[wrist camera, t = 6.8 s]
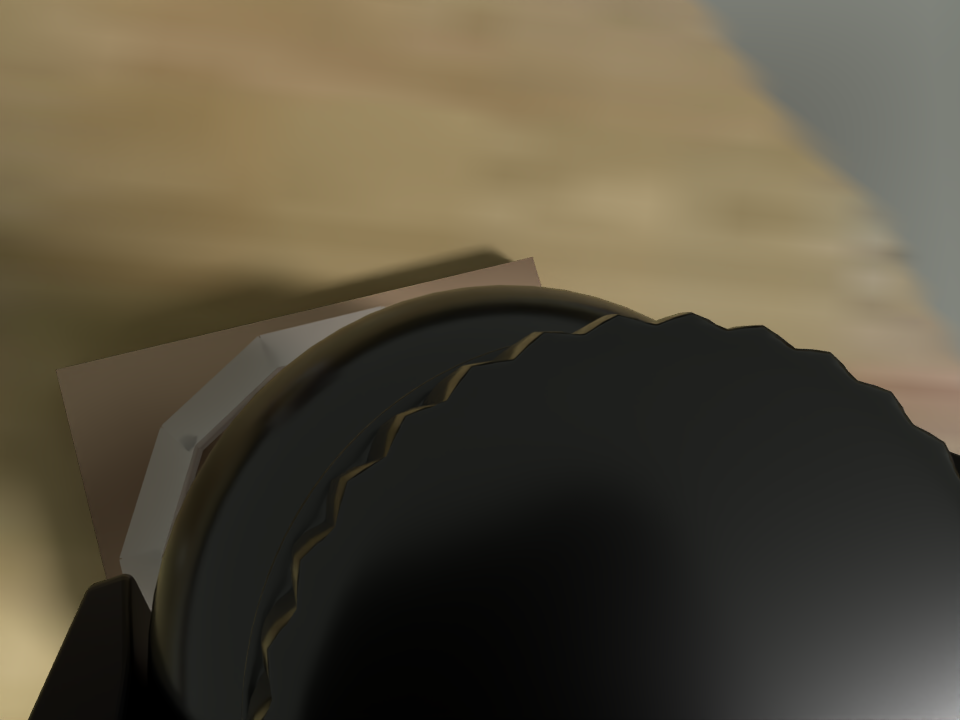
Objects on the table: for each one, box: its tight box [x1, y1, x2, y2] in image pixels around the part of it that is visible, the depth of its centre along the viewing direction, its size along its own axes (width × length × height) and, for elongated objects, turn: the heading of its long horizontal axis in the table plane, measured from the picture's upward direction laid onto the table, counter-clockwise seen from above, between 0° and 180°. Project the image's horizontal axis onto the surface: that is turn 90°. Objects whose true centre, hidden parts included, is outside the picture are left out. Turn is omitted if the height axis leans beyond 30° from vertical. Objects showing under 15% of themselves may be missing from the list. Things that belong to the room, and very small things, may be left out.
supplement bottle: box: [147, 285, 960, 720], centre depth 11 cm, size 7×7×12 cm
